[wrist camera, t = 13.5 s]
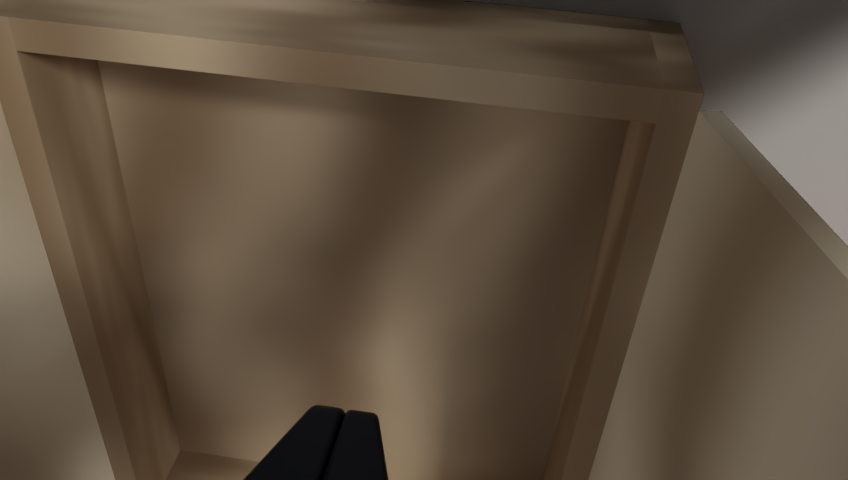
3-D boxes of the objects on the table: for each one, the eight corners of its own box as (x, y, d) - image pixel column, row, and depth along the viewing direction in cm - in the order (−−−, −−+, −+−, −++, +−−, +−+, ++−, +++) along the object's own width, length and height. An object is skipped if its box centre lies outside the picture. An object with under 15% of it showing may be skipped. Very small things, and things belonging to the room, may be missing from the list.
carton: (679, 22, 19) (704, 93, 16) (553, 502, 31) (553, 597, 28) (65, -41, 20) (-28, 13, 17) (172, 443, 32) (129, 528, 29)
